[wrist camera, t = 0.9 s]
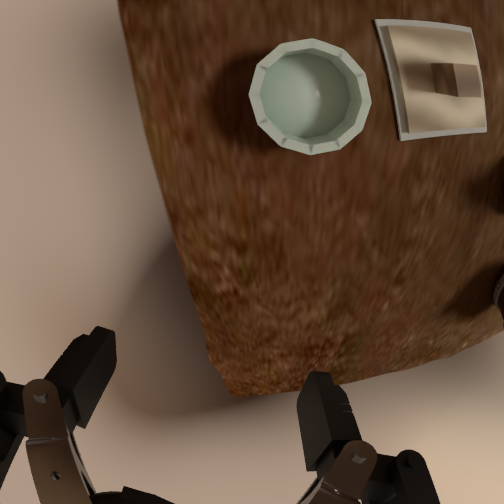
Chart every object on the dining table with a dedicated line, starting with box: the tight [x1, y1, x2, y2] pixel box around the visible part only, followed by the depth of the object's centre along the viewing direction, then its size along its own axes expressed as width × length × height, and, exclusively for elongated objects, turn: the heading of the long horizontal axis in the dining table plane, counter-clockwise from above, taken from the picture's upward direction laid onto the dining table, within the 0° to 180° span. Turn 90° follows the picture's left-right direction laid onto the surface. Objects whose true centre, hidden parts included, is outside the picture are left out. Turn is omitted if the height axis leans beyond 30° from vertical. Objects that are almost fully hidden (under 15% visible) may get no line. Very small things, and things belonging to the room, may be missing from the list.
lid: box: [385, 26, 485, 134], centre depth 23 cm, size 14×14×6 cm
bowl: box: [249, 38, 372, 155], centre depth 27 cm, size 12×12×5 cm
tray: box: [374, 19, 487, 141], centre depth 25 cm, size 16×16×1 cm
